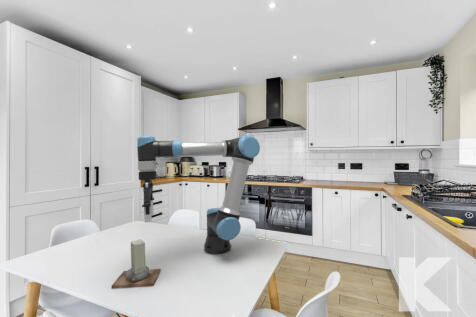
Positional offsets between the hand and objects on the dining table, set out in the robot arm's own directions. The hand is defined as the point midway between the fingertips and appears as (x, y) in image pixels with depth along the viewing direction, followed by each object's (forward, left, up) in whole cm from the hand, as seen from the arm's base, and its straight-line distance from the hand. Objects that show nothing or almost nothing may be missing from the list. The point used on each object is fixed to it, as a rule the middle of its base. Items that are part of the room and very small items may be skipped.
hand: (149, 218), depth 102 cm
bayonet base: (+3, +5, -25) cm, 25 cm away
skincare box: (+3, +5, -21) cm, 22 cm away
